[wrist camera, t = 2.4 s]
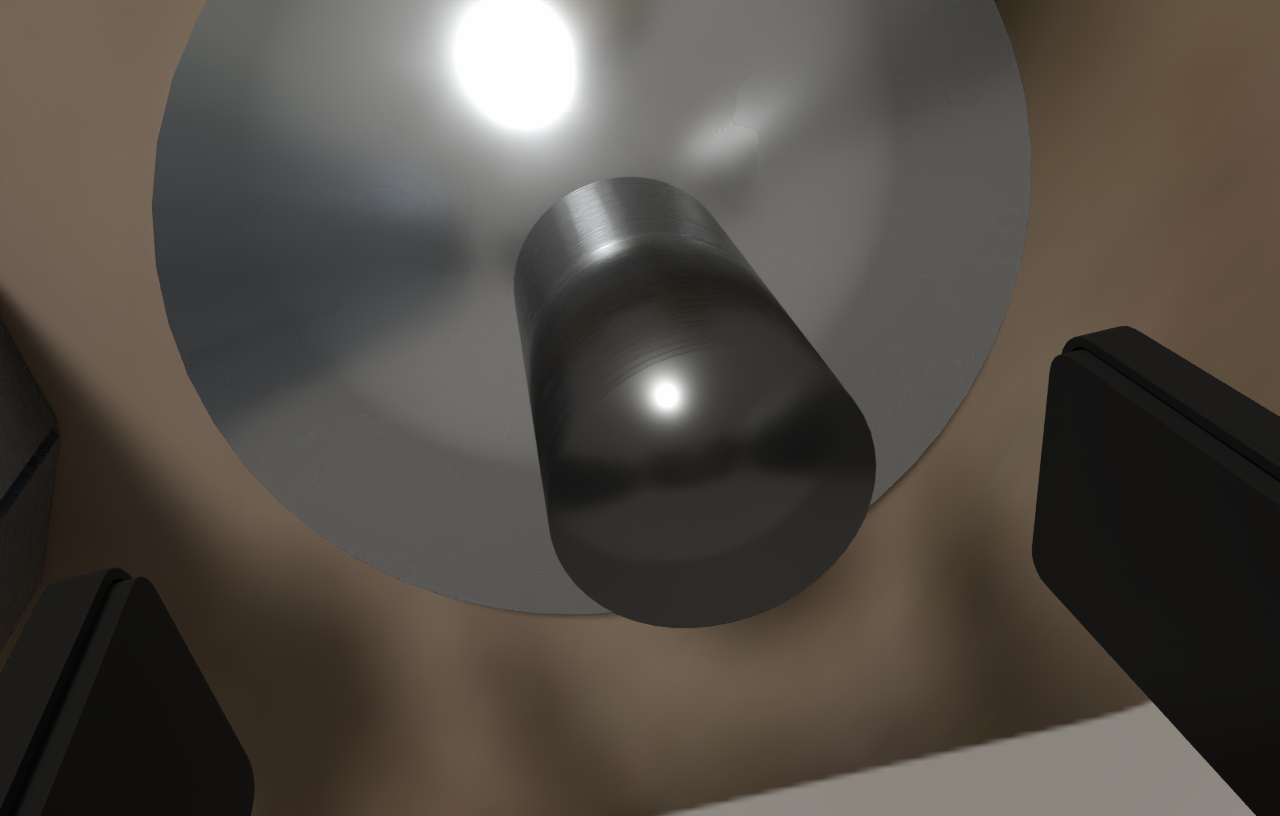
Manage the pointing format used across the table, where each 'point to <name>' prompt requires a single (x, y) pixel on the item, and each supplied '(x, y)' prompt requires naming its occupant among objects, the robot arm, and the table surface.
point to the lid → (590, 277)
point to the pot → (22, 484)
